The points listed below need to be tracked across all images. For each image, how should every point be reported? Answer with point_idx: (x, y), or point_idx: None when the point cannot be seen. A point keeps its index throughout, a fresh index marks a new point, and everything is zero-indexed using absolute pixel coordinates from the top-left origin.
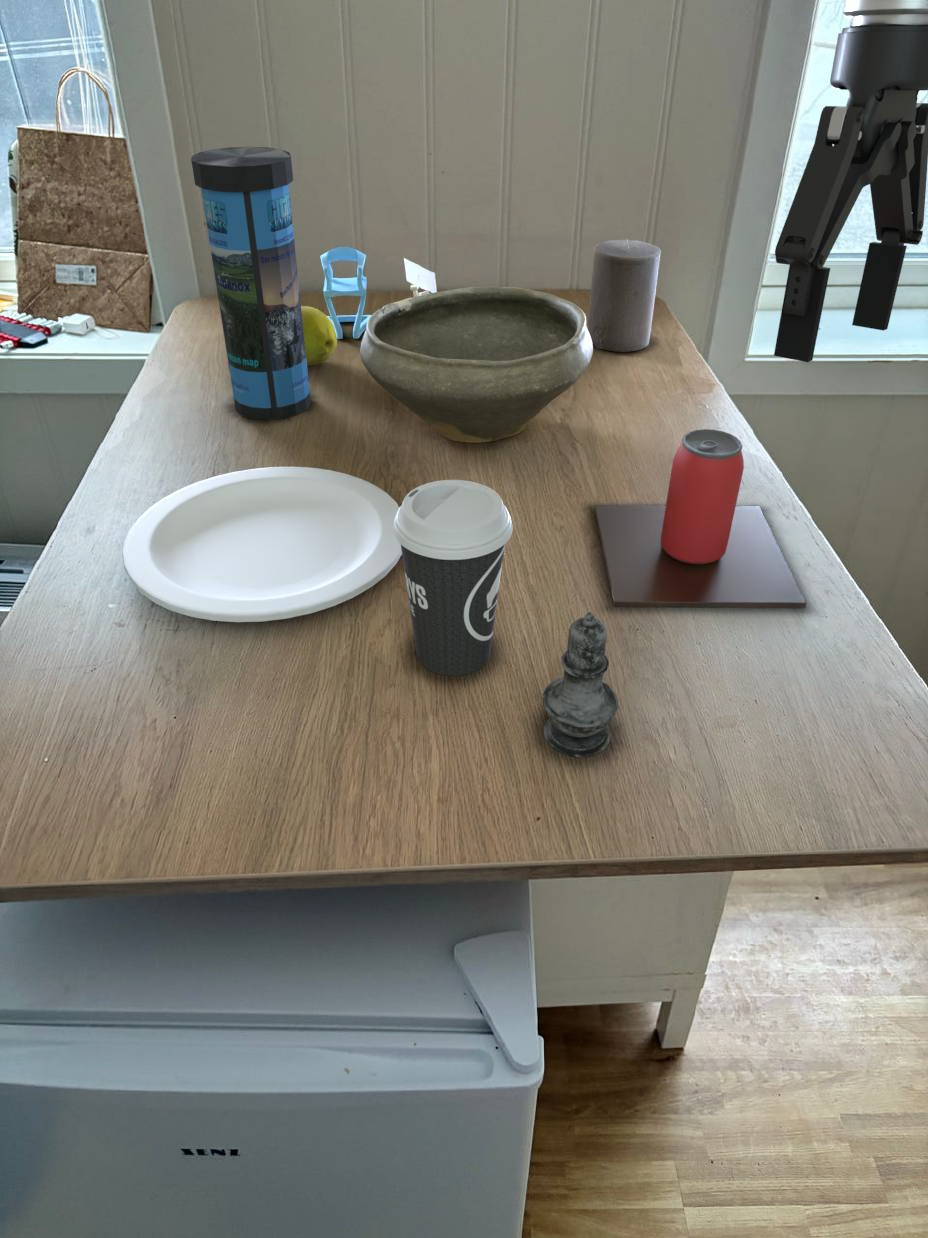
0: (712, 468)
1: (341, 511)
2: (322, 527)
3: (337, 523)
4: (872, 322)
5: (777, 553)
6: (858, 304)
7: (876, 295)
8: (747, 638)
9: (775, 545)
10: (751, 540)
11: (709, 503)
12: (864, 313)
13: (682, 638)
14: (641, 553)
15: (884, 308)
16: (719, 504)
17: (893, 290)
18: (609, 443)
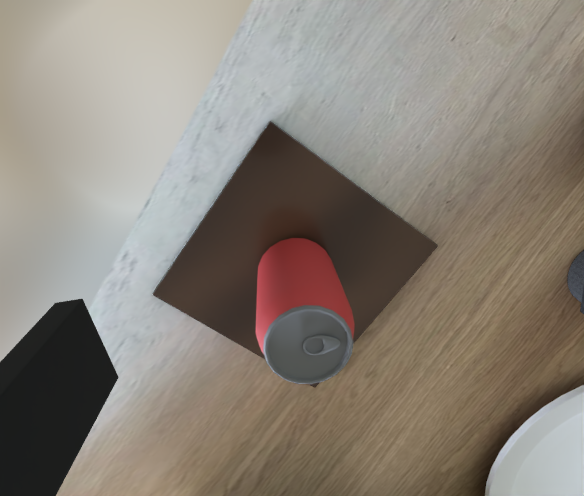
0: (339, 305)
1: (522, 485)
2: (550, 473)
3: (537, 472)
4: (90, 341)
5: (216, 211)
6: (89, 419)
7: (51, 409)
8: (370, 121)
9: (204, 224)
10: (221, 247)
11: (331, 277)
12: (91, 381)
13: (424, 163)
14: (347, 294)
15: (53, 351)
16: (318, 269)
17: (3, 386)
18: (197, 473)
